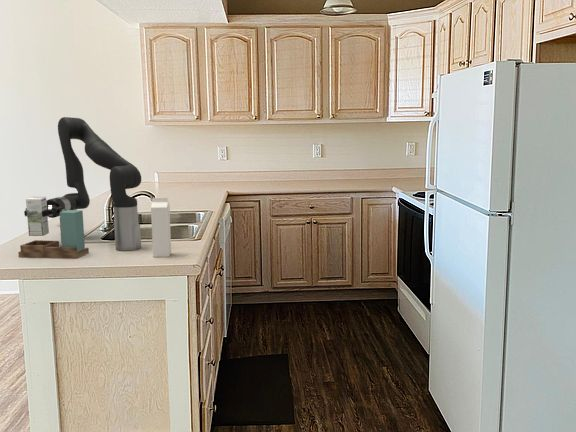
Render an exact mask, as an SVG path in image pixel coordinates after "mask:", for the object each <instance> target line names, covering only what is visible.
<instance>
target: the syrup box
mask: <svg viewBox="0 0 576 432" xmlns="http://www.w3.org/2000/svg"><path fill="white" fill-rule="evenodd" d="M25 204H26V208H27V216H26V217H27V228H28V236H29V237H43V236H44V237H45V236H46V235H48V234H50V230H49V220H48V219H49V217H48V216H45V217H42V211H44V210H47V197H46V196H29V197H27V198H25Z"/></svg>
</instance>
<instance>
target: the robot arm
mask: <svg viewBox="0 0 576 432" xmlns="http://www.w3.org/2000/svg"><path fill="white" fill-rule="evenodd" d="M94 131H95V130H93V129H92V128H91V126H89V124H88V123H87V122H86V121H85V119H82V118H80V117H70V116H69V117H68V116H63V117H61V118H60V119H59V120H58V123H57V133H58V140H59V143H60V147H61V152H62V155H63V156H62V157H63V159H64V163H65V164H64V165H65V166H64V167H65V177H66V178H65V179H66V185H67V187H69V188H73V189H76V191H77V192H71V193H67V194H64V195H63V196H57V197H54V198H49V199H46V201H47V210H44V211H42V217H45V216H48V218H51V219H53V218H54V219H55V218H58V217H60V212H63V211H67V210H74V209H77V210H84V209H88V207H89V205H90V203H91V202H90V201H91V199H90V195H89V193H88V190H87V188H86V185H85V184H86V183H85V179H84V168H83V164H82V162H81V160H80V159H79V157H78V155H77V154H76V152H75V151H74V149H73V146H72V142H71V141H72V140H78V141H81V142H82V143H84V153H85V155H86V156H87V157H88V158H89V159H90V160H91V161H92V162H93V163H94V164H95V165H97V166H100V167H101V168H104V169H107V170H110V172H109V187H110V198H111V201H112V205H113V206H112V208H113V209H112V210H113V224H114V225H113V227H114V242H115V243H114V245H115V250H116V251H123V252H124V251H136V250H138V249H140V248H141V247H142V237H141V235H142V234H141V224H140V223H139V217H138V216H139V214H138V213H139V211H138V210H139V209H138V200H137V198H136V197H132V196H129V195H128V194H127V190H129V189H135V188H137V187H139V186H140V185H141V183H142V174H141V173H140V171H139V169H138V167H136V166H135V165H134V164H133V163H131V162H130V161H128V160H127V159H125V158H124V157H123V156H121V155H120V154H119V153H118V152H117V151H115V150H114V149H113V148H112V147H111V146H110V145H109V144H108V143H107V142H106V141H104V139H102V138H101V137H100V136H99V135H98V134H97V133H96V132H94ZM23 213H24V217H27V207H26V208H25V210H24V211H23Z"/></svg>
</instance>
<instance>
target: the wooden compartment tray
mask: <svg viewBox="0 0 576 432" xmlns="http://www.w3.org/2000/svg"><path fill="white" fill-rule="evenodd" d="M89 250H90V249H89V247H85V249H83V250H81V251H79V252H77V248H75V247H62V246H61V247H60V240H44V239H43V240H42V239H41V240H37V239H35V240H32V241H29V242H27V243H25V244H24V243H23V244H21V245H20V251H18V258H33V259H34V258H37V259H38V258H39V259H71V260H72V259H78V258H81V257H83V256H86V255H87V254H89V253H90V251H89Z"/></svg>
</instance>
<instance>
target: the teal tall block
mask: <svg viewBox="0 0 576 432" xmlns="http://www.w3.org/2000/svg"><path fill="white" fill-rule="evenodd" d="M83 210H84V209H77V210H67V211H63V212H60V216H59V227H60V231H59V232H60V242H61V247H75V248H77V252H79V251H81V250H83V249H85V248H86V246H85V245H86V243H85V229H84V228H85V226H84V213H83Z"/></svg>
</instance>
